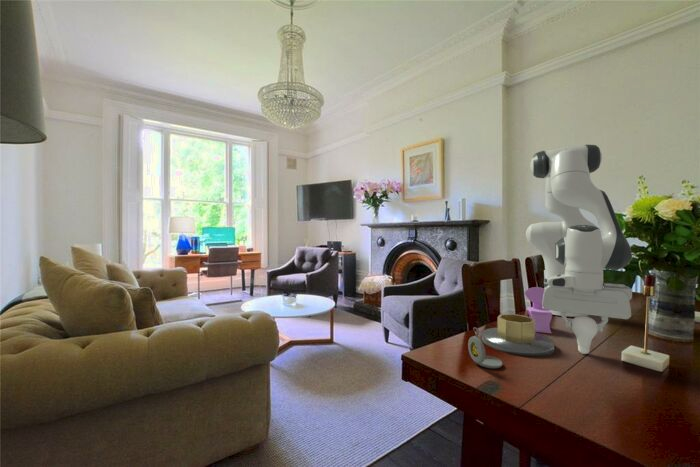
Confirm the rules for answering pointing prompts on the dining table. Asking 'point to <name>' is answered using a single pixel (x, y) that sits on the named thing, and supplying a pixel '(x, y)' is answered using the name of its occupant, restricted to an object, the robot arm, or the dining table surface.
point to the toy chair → (538, 310)
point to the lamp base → (517, 337)
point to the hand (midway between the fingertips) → (583, 329)
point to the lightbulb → (584, 332)
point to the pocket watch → (481, 353)
